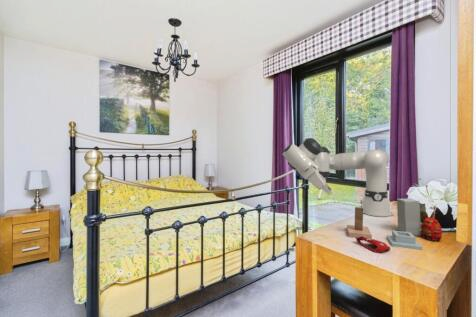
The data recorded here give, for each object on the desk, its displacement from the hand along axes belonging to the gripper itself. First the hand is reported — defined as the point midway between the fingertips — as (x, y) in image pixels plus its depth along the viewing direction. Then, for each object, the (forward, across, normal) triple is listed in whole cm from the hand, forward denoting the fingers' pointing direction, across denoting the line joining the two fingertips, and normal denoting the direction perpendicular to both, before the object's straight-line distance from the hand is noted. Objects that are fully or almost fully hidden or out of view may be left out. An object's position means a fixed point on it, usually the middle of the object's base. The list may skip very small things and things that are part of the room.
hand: (330, 192), depth 115 cm
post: (+20, 0, -3) cm, 20 cm away
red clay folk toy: (+42, -5, +16) cm, 46 cm away
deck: (+22, 0, -4) cm, 22 cm away
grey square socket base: (+33, +6, +7) cm, 34 cm away
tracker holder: (+25, +15, -2) cm, 29 cm away
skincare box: (+37, -10, +11) cm, 40 cm away
